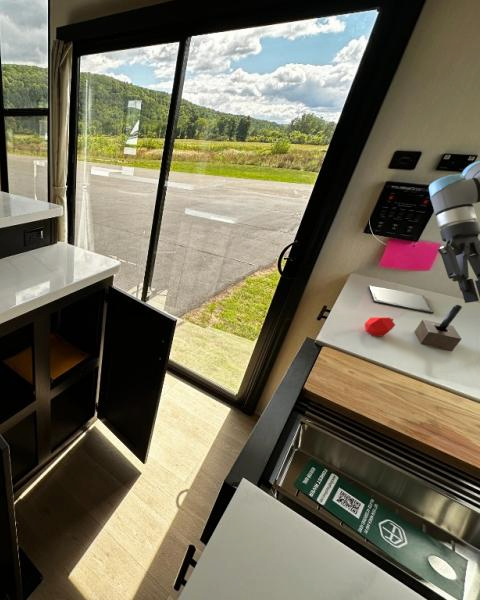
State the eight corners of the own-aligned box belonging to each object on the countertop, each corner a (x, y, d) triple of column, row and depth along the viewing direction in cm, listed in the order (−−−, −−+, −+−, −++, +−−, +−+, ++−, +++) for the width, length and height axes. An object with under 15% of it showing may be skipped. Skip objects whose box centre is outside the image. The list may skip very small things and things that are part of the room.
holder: (444, 337, 104) (453, 325, 101) (451, 351, 99) (461, 339, 96) (414, 331, 107) (422, 319, 104) (420, 344, 102) (429, 331, 99)
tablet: (422, 296, 124) (424, 295, 124) (432, 313, 115) (434, 312, 114) (368, 286, 132) (369, 285, 131) (373, 302, 122) (374, 300, 122)
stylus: (434, 340, 103) (461, 304, 96) (436, 343, 102) (464, 306, 95) (428, 338, 104) (454, 303, 97) (430, 341, 103) (457, 305, 96)
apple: (376, 326, 102) (402, 317, 101) (358, 317, 108) (383, 308, 107) (377, 343, 104) (403, 334, 103) (360, 333, 110) (384, 325, 109)
